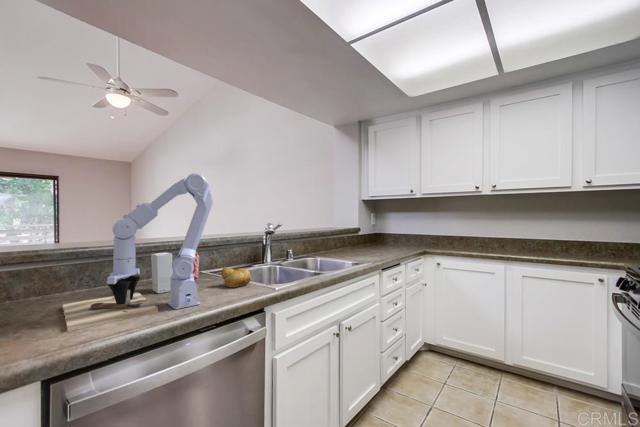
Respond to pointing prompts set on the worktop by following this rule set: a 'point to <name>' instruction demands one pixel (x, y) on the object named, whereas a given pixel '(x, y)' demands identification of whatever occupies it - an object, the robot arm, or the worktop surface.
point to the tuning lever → (115, 304)
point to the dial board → (104, 312)
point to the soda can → (196, 267)
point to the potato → (235, 277)
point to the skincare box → (161, 272)
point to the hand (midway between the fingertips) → (124, 301)
